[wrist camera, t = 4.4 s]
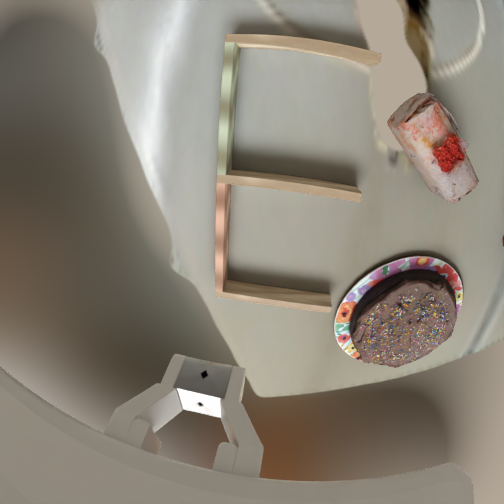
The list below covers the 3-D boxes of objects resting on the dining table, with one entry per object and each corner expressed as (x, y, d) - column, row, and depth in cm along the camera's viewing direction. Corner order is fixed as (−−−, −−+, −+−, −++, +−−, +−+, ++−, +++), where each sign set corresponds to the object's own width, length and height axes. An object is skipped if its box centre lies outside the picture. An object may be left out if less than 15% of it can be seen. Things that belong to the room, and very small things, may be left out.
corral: (232, 40, 28) (225, 34, 25) (373, 58, 26) (381, 53, 23) (220, 284, 48) (215, 296, 45) (328, 299, 46) (329, 312, 43)
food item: (375, 120, 31) (401, 124, 22) (412, 89, 27) (446, 86, 19) (426, 193, 34) (457, 218, 26) (459, 164, 31) (495, 182, 22)
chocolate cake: (305, 303, 48) (305, 329, 42) (440, 222, 36) (458, 240, 30) (366, 374, 56) (369, 396, 50) (468, 319, 44) (479, 339, 39)
